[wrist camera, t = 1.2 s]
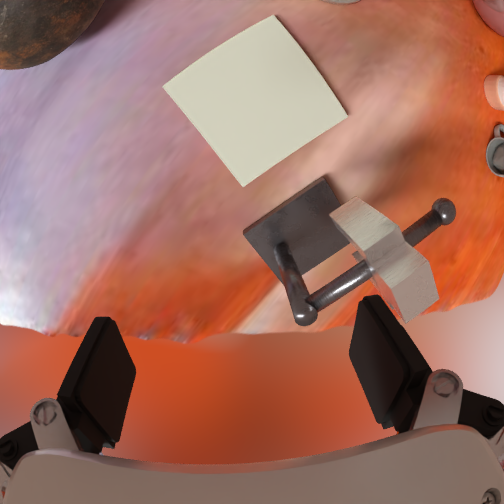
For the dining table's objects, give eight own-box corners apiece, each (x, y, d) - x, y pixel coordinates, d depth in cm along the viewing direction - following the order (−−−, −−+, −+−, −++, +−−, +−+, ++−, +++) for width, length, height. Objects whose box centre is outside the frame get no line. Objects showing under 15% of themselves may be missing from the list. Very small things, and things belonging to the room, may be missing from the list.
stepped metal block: (355, 195, 32) (423, 244, 19) (382, 248, 35) (441, 309, 23) (328, 214, 33) (383, 274, 20) (358, 264, 36) (409, 333, 23)
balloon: (431, -37, 21) (479, -58, 7) (492, -7, 21) (537, -14, 7) (453, 26, 28) (511, 16, 14) (509, 50, 28) (559, 51, 14)
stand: (371, 143, 38) (447, 164, 22) (399, 201, 42) (468, 246, 26) (242, 231, 42) (251, 300, 27) (283, 281, 47) (307, 359, 31)
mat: (272, 17, 29) (273, 14, 28) (345, 116, 36) (348, 116, 35) (163, 87, 33) (162, 86, 32) (242, 185, 40) (242, 187, 39)
